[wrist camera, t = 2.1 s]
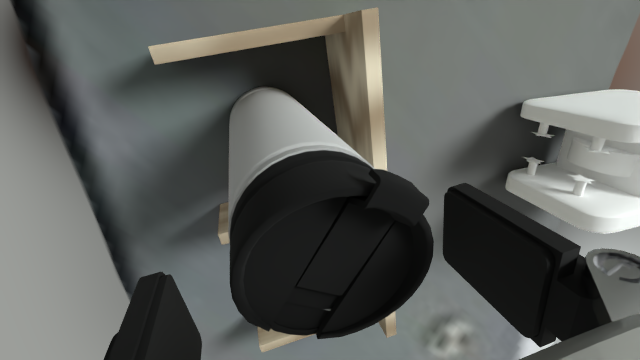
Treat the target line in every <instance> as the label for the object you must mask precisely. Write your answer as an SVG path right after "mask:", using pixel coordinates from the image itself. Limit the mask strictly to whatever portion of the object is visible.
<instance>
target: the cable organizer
mask: <svg viewBox="0 0 640 360" xmlns="http://www.w3.org/2000/svg"><path fill="white" fill-rule="evenodd" d="M520 116H521V117H523V118H525V119H529V120H533V121H537V122H540V126H539V130H538V133H536V132H532V133H535V134H536V136H544V137H548V138H551V137H550V136H555V135H549V134H547V131H548V127H549V125H552V126H556V127H560V128H564V129H566V131H565V135H564V138H563V141H562V145H561V148H560V152H559V155H558V158H557V162H555V163H549V164H544V165H542V164H541V163H540V162H545V161H541V160H537V159H535V158H534V157H531V158H526V157H523V158H525V159H527V161H528V162H529V165H528V168H522V169H517V170H513V171H511V172H509V173H508V177H507V181H506V185H505V188H506V190H507V191H509V192H511V193H513V194H515V195H516V196H518V197H520V198H522V199H524V200H526V201H528V202H530V203H532V204H533V205H535V206H537V207H539V208H541V209H543V210H545V211H547V212H549V213H550V214H552V215H554V216H556V217H558V218H560V219H562V220H564V221H565V222H567V223H569V224H571V225H573V226H575V227H577V228H580V229H582V230H585V231H589V232H596V233H602V234H606V233H614V232H618V231H622V230H626V229H630V228H634V227H638V226H640V91H632V90H602V91H594V92H586V93H577V94H569V95H561V96H553V97H545V98H537V99H530V100H526V101H524V102H523V105H522V110H521V114H520ZM538 164H541V165H538ZM537 165H538V166H537Z"/></svg>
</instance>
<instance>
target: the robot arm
mask: <svg viewBox="0 0 640 360" xmlns="http://www.w3.org/2000/svg"><path fill="white" fill-rule="evenodd" d="M580 248H581V247H580V246H579V245H577V244H575V243H573V242H572V241H570V240H568V239H566V238H564V237H563V236H561V235H559V234H557V233H555V232H554V231H552V230H550V229H548V228H546V227H545V226H543V225H541V224H539V223H537V222H536V221H534V220H532V219H530V218H528V217H527V216H525V215H523V214H521V213H519V212H518V211H516V210H514V209H512V208H510V207H509V206H507V205H505V204H503V203H501V202H500V201H498V200H496V199H494V198H492V197H491V196H489V195H487V194H485V193H483V192H482V191H480V190H478V189H476V188H475V187H473V186H471V185H469V184H467V183H463V184H460V185H456V186H453V187H450V188H449V189H448V191H447V193H445V196H444V227H443V255H444V258H445V260H446V261H447V263H448V264H449V265H451V266H452V267H453V268H454V269H455V270H456V271H457V272H458V273H459V274H460V275H461V276H462V277H463V278H464V279H465V280H466V281H467V282H468V283H469V284H470V285H471V286H472V287H473V288H474V289H475V290H476V291H477V292H478V293H479V294H480V295H482V296H483V297H484V298H485V299H486V300H487V301H488V302H489V303H490V304H491V305H492V306H493V307H494V308H495V309H496V310H497V311H498V312H499V313H500V314H501V315H502V316H503V317H504V318H505V319H506V320H507V321H508V322H509V323H510V324H511V325H513V326H514V327H515V328H516V329H517V330H518V331H519V332H520V333H521V334H522V335H523V336H525V337H527V338H531V339H532V340H533V341H534V342H535V343H536V344H537V345H538V346H539V347H542V346H545V345H547V344H549V343H552V342H554V341H555V340H556V337H557V338H558V339H559V340H561V341H562V342H560V343H558V344H555V345H553V346H550V347H548V348H546V349H543V350H541V351H538V352H536V353H534V354H531V355H529V356H527V357H524V358H522V359H519V360H640V257H639V256H637V255H635V254H631V253H628V252H625V251H621V250H615V249H595V250H592V251H590V252H588V254H587V255H586V257H585V258H584V257H583V256H581V255H579V251H580ZM201 349H202V341H201V336H200V333H199V331H198V329H197V327H196V325H195V323H194V321H193V319H192V317H191V315H190V313H189V310H188V308H187V306H186V304H185V302H184V300H183V298H182V296H181V294H180V292H179V290H178V288H177V286H176V283H175V281H174V279H173V277H172V276H171V275H165V274H164V273H163V272H158V273H155V274H151V275H148V276H145V277H141V278H140V279H139V281H138V283H137V286H136V289H135V291H134V294H133V296H132V299H131V301H130V304H129V307H128V309H127V312H126V314H125V317H124V319H123V322H122V324H121V327H120V330H119V332H118V333H117V334H116V335H115V336H114V337H113V339H112V341H111V343H110V345H109V348H108V350H107V353H106V355H105V358H104V360H201Z"/></svg>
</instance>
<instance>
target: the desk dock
mask: <svg viewBox="0 0 640 360" xmlns="http://www.w3.org/2000/svg"><path fill="white" fill-rule="evenodd" d="M324 35H325V40H326V48H327V56H328V64H329V71H330V79H331V87H332V95H333V102H334V110H335V118H336V126H337V133H338V137H339V138H341V139H342V140H343V141H344V142H345V143H346V144H348V145H349V146H350V147H351V148H352V149H353V150H355V151H356V152H357V153H358V154H359V155H360V156H361V157H362V158H363V159H365V160H366V161H367V162H368V163H370V164H371V165H372V166H373V167H374V168H375V169H383V170H386V171H387V158H386V141H385V123H384V105H383V87H382V69H381V51H380V33H379V15H378V8H372V9H366V10H360V11H356V12H352V13H348V14H344V15H339V16H333V17H326V18H320V19H314V20H308V21H302V22H296V23H290V24H283V25H277V26H271V27H265V28H259V29H253V30H246V31H240V32H234V33H228V34H222V35H216V36H210V37H203V38H197V39H191V40H185V41H179V42H173V43H167V44H160V45H154V46H148V48H149V50H150V53H151V56H152V58H153V61H154V64H155V65H156V64H162V63H168V62H174V61H179V60H185V59H191V58H197V57H203V56H208V55H214V54H220V53H226V52H231V51H237V50H243V49H249V48H255V47H260V46H266V45H272V44H278V43H283V42H289V41H295V40H301V39H307V38H312V37H318V36H324ZM228 207H229V202H227V203H223V204H220V210H219V226H218V236H219V239H220V241H221V244H222V245H223V244H226V243H230V242H229V235H228V226H229V221H228ZM379 324H380V326H381V328H382V329H383V331H384V333H385V335H386V337H387V338H388V337H390V336H393V335H396V320H395V311H394V312H393V313H392V314H390V315H389V316H388V317H386V318H384V319H382V320H381V321H379ZM257 327H258V326H257ZM312 335H314V334H312ZM308 336H311V335H307V336H302V335H289V334H285V333H280V332H276V331H274V330H272V329H270V331H269V332H268V331H266V330H264V329H262V328H260V327H258V337H259V346H260V349H261V352H265V351H268V350H271V349H274V348H276V347H279V346H282V345H285V344H288V343H291V342H294V341H296V340H299V339H302V338H305V337H308Z"/></svg>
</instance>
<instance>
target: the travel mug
mask: <svg viewBox="0 0 640 360" xmlns="http://www.w3.org/2000/svg"><path fill="white" fill-rule="evenodd" d="M428 206H429V199H428V198H427V197H426V196H425V195H423V194H422V193H421V192H420V191H419V190H418V189H417V188H416V187H415V186H414V185H413V184H412V183H411V182H409V181H408V180H406V179H404V178H402V177H400V176H398V175H395V174H393V173H391V172H388V171H386V170H383V169H375V168H374V167H373V166H372V165H371V164H370V163H368V162H367V161H366V160H365V159H363V158H362V157H361V156H360V155H359V154H358V153H357V152H356V151H355V150H353V149H352V148H351V147H350V146H349V145H348V144H346V143H345V142H344V141H343V140H342V139H341V138H339V137H338V136H337V135H336V134H335V133H334V132H332V131H331V130H330V129H329V128H328V127H327V126H326V125H324V124H323V123H322V122H321V121H320V120H319V119H317V118H316V117H315V116H314V115H313V114H312V113H310V112H309V111H308V110H307V109H306V108H305V107H303V106H302V105H301V104H300V103H299V102H298V101H296V100H295V99H294V98H293V97H292V96H291V95H290V94H288V93H286V92H285V91H283V90H281V89H278V88H275V87H269V86H268V87H258V88H254V89H252V90H249V91H247V92H246V93H244V94H243V95H242V96H241V97H240V98H239V99H238V100H237V101H236V102H235V104H234V106H233V108H232V111H231V114H230V121H229V207H228V221H229V226H228V235H229V242H230V287H231V293H232V299H233V301H234V303H235V305H236V307H237V309H238V311H239V312H240V313H241V314H242V315H243V317H244V318H245V319H246V320H247V321H248V322H249V323H251V324H253V325H256V326H258V327H260V328H262V329H264V330H266V331H268V332H269V331H270V329H272V330H274V331H276V332H280V333H285V334H289V335H302V336H307V335H312V334H316V335H317V339H323V338H334V337H342V336H345V335H348V334H352V333H355V332H358V331H360V330H362V329H365V328H367V327H369V326H372V325H374V324H375V323H377V322H379V321H381V320H382V319H384V318H386V317H388V316H389V315H390V314H392V313H393V312H394V311H396V310H397V309H398V308H400V307H401V306H402V305H403V304H404V303H405V302H406V301H407V300H408V299H409V298H410V297H411V296H412V295H413V294H414V293H415V291H416V290H417V289H418V287H419V286H420V285H421V283H422V282H423V280H424V278H425V276H426V274H427V272H428V270H429V267H430V264H431V260H432V257H433V243H434V241H433V237H432V232H431V228H430V225H429V224H428V222H427V220H426V218H425V217H424V215H423V213H424V212H425V210H426V209H427V207H428Z"/></svg>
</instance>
